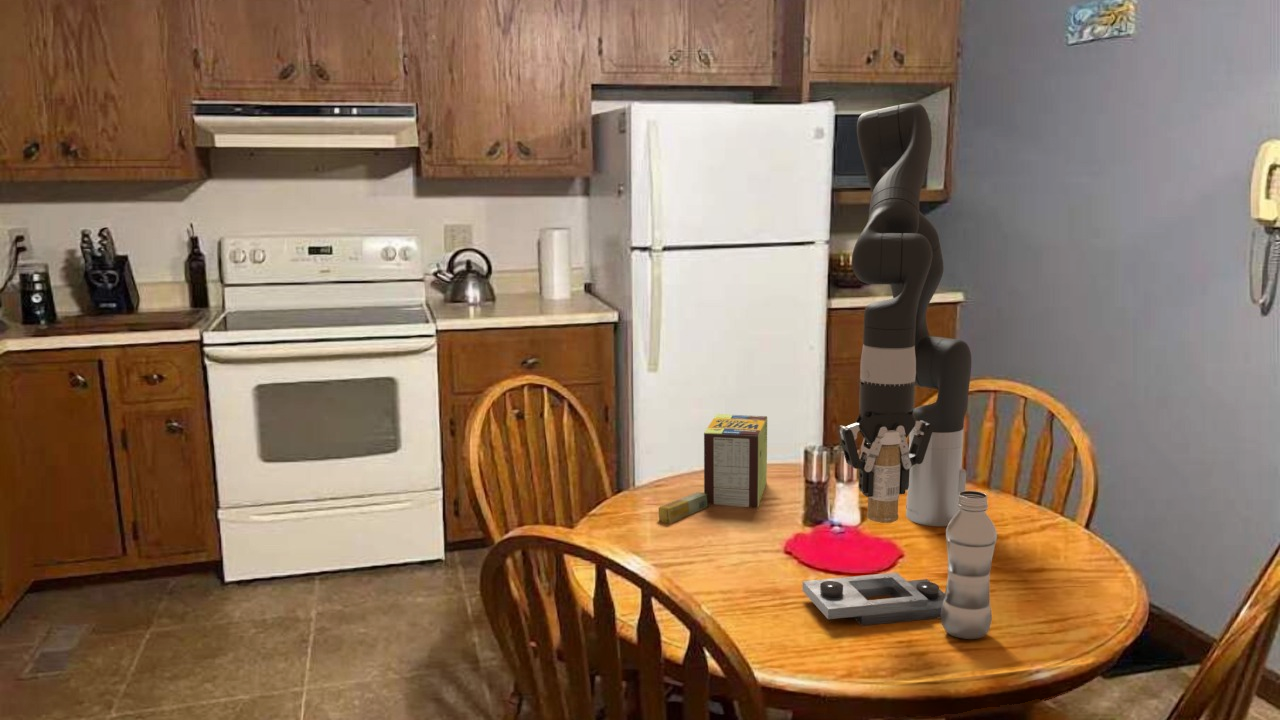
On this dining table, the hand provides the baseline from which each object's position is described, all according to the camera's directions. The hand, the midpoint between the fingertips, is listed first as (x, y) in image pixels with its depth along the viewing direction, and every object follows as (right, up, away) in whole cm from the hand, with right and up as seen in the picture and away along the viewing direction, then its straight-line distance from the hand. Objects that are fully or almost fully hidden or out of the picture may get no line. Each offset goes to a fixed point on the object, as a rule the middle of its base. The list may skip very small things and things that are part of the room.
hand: (883, 493), depth 143 cm
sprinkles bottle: (0, -4, +1) cm, 4 cm away
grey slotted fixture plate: (-2, -16, +2) cm, 16 cm away
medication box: (-27, -11, +41) cm, 50 cm away
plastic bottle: (+10, -19, -6) cm, 22 cm away
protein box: (-16, -9, +52) cm, 55 cm away
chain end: (+3, -17, +3) cm, 18 cm away
